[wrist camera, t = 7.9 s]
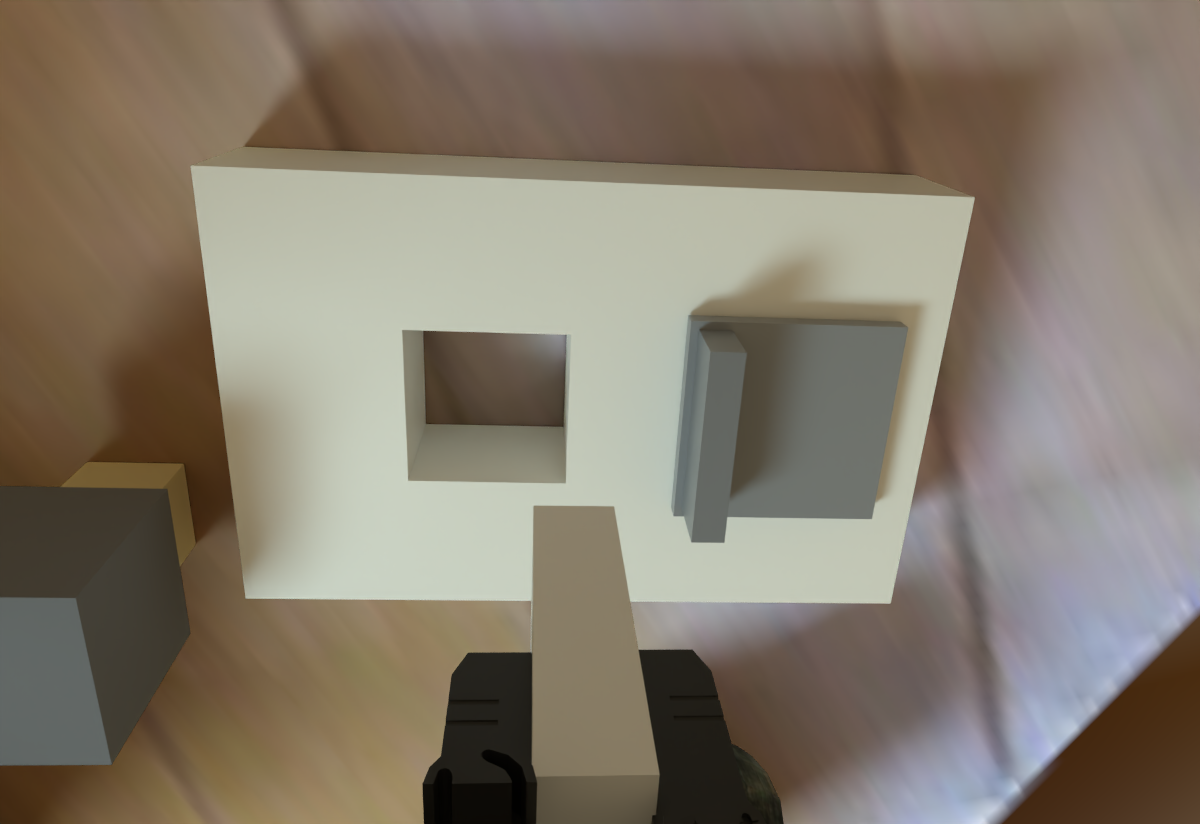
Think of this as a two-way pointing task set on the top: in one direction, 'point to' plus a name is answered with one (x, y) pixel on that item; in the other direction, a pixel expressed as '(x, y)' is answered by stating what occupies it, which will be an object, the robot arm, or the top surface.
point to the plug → (89, 608)
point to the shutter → (783, 419)
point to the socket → (593, 360)
